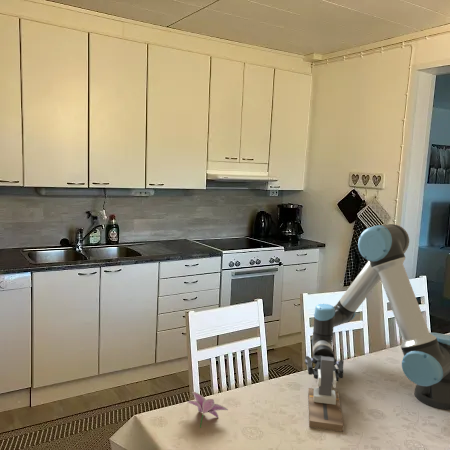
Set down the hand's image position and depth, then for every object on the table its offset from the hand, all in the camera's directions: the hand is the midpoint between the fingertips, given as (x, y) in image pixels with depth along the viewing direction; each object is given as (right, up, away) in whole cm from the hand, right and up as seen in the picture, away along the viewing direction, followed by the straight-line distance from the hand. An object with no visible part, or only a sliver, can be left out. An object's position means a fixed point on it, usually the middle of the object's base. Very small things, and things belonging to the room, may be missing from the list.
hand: (327, 382), depth 148 cm
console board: (0, -10, +3) cm, 11 cm away
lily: (-39, -10, -6) cm, 40 cm away
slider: (0, -8, +6) cm, 10 cm away
